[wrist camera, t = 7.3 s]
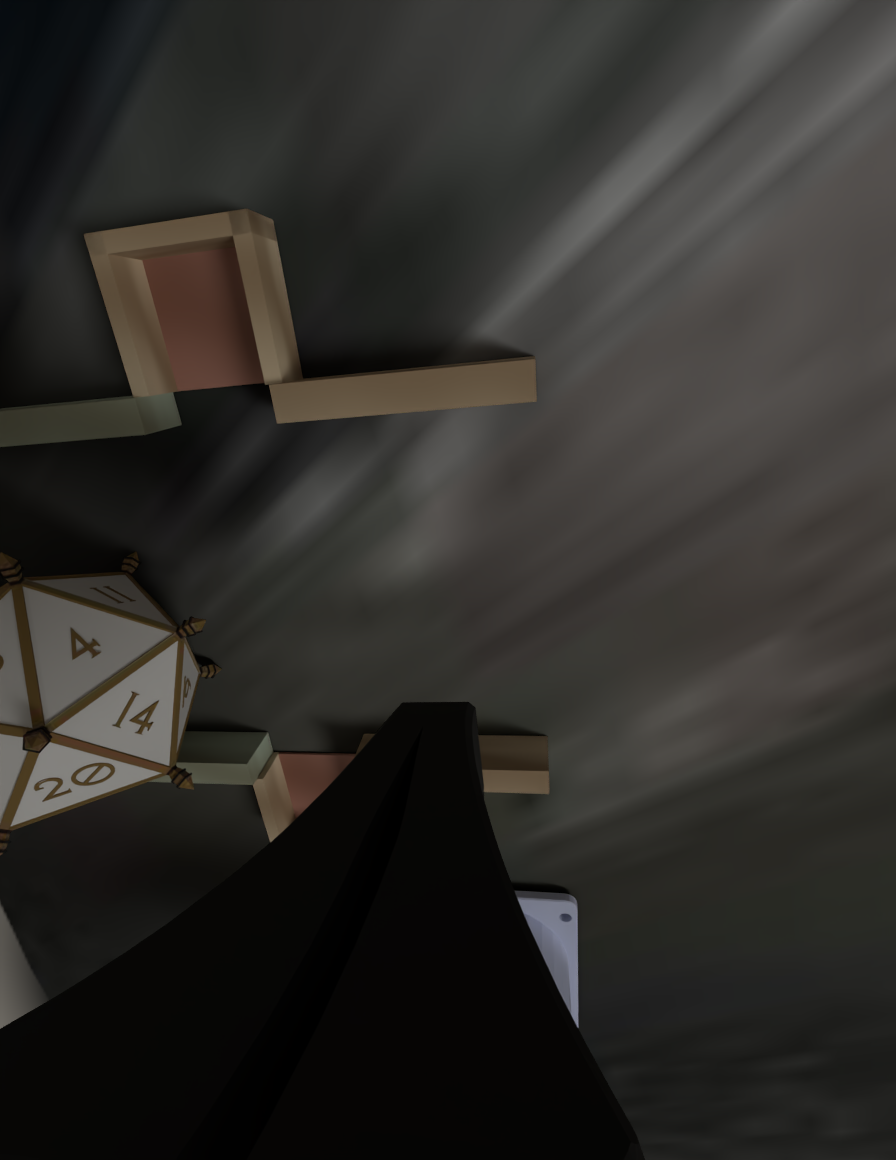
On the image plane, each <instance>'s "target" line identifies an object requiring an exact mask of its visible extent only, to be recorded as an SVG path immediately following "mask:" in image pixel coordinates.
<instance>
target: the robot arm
mask: <svg viewBox="0 0 896 1160" xmlns="http://www.w3.org/2000/svg"><path fill="white" fill-rule="evenodd" d="M0 1160H645V1158H644V1155H643V1153H642V1150H641V1147H640V1144H639V1141H638V1138H637V1136H636V1134H635V1132H634V1130H633V1128H632V1126H631V1124H630V1122H629V1120H628V1119H627V1117H626V1115H625V1113H624V1112H623V1110H622V1108H621V1106H620V1105H619V1103H618V1101H617V1099H616V1098H615V1096H614V1094H613V1092H612V1090H611V1089H610V1087H609V1085H608V1083H607V1081H606V1080H605V1078H604V1076H603V1074H602V1072H601V1070H600V1069H599V1067H598V1065H597V1063H596V1061H595V1059H594V1057H593V1056H592V1054H591V1052H590V1050H589V1048H588V1046H587V1045H586V1043H585V1041H584V1039H583V1037H582V1035H581V1033H580V1031H579V1029H578V916H577V901H576V899H575V898H574V897H573V896H571V895H569V894H565V893H549V892H532V891H515V890H514V889H513V886H512V883H511V881H510V878H509V875H508V873H507V870H506V867H505V865H504V862H503V859H502V856H501V854H500V851H499V848H498V845H497V842H496V839H495V836H494V832H493V829H492V826H491V822H490V819H489V816H488V812H487V809H486V805H485V801H484V781H483V772H482V763H481V754H480V745H479V736H478V727H477V718H476V709H475V707H474V706H473V705H472V704H470V703H469V702H410V703H402V704H401V705H400V706H399V707H398V708H397V709H396V710H395V711H394V712H393V713H392V715H391V716H390V717H389V718H388V719H387V720H386V722H385V723H384V724H383V725H382V726H381V728H380V729H379V730H378V731H377V732H376V733H375V735H374V736H373V737H372V738H371V739H370V740H369V742H368V743H367V744H366V745H365V746H364V747H363V748H362V750H361V751H360V752H359V753H358V754H357V755H356V756H355V757H354V759H353V760H352V761H351V762H350V763H349V764H348V765H347V766H346V767H345V768H344V770H343V771H342V772H341V773H340V774H339V775H338V776H337V777H336V778H335V779H334V781H333V782H332V783H331V784H330V785H329V786H328V787H327V788H326V789H325V790H324V791H323V792H322V793H321V794H320V795H319V796H318V797H317V798H316V799H315V800H314V801H313V802H312V803H311V804H310V805H309V806H308V807H307V808H306V809H305V810H304V811H303V812H302V813H301V814H300V815H299V816H298V817H297V818H296V819H295V820H294V821H293V822H292V823H291V824H290V825H289V826H288V827H287V828H286V829H285V830H284V831H282V832H281V833H280V834H279V835H278V836H277V837H276V838H275V839H274V840H273V841H272V842H270V843H269V844H268V845H267V846H266V847H265V848H264V849H262V850H261V851H260V852H259V853H258V854H256V855H255V856H254V857H253V858H252V859H251V860H249V861H248V862H247V863H246V864H245V865H243V866H242V867H241V868H240V869H239V870H237V871H236V872H235V873H234V874H233V875H231V876H230V877H229V878H228V879H226V880H225V881H224V882H222V883H221V884H220V885H218V886H217V887H216V888H214V889H213V890H212V891H210V892H209V893H208V894H206V895H205V896H204V897H202V898H201V899H200V900H198V901H197V902H196V903H194V904H193V905H192V906H190V907H189V908H188V909H186V910H185V911H184V912H182V913H181V914H180V915H178V916H177V917H176V918H174V919H173V920H172V921H170V922H169V923H168V924H166V925H165V926H163V927H162V928H161V929H159V930H158V931H156V932H155V933H153V934H152V935H150V936H149V937H147V938H146V939H144V940H143V941H142V942H140V943H139V944H137V945H136V946H134V947H133V948H131V949H130V950H128V951H127V952H125V953H124V954H122V955H121V956H119V957H118V958H116V959H115V960H113V961H111V962H110V963H108V964H107V965H105V966H104V967H102V968H101V969H99V970H98V971H96V972H94V973H93V974H91V975H90V976H88V977H87V978H85V979H84V980H82V981H80V982H79V983H77V984H75V985H74V986H72V987H71V988H69V989H67V990H66V991H64V992H63V993H61V994H59V995H58V996H56V997H54V998H53V999H51V1000H49V1001H47V1002H46V1003H44V1004H42V1005H41V1006H39V1007H37V1008H35V1009H34V1010H32V1011H30V1012H28V1013H27V1014H25V1015H23V1016H22V1017H20V1018H18V1019H16V1020H15V1021H13V1022H11V1023H10V1024H8V1025H6V1026H4V1027H3V1028H1V1029H0Z"/></svg>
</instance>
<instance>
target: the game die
mask: <svg viewBox="0 0 896 1160" xmlns="http://www.w3.org/2000/svg"><path fill="white" fill-rule="evenodd" d="M123 559H124V561H123V563H121V566H122V570H121V571H120V572H108V573H91V574H75V575H58V576H41V577H24V578H23V577H22V571H23V570H24V568H23V567H21V566H20V562H21V560H16V559H13V558H12V557H10V556H8V555H6V554H4V553H2V552H1V553H0V575H1V576H2V578H3V579H6V580H7V581H8V583H6V584H5V585H3V586H2V587H0V855H2V854H3V853H6V852H7V851H6V850H5V849H6V847H7V844H8V843H10V842H11V841H9V835H10V833H11V831H12V830H15V829H17V828H20V827H23V826H26V825H29V824H31V823H34V822H37V821H40V820H43V819H45V818H48V817H51V816H54V815H57V814H59V813H62V812H65V811H68V810H71V809H73V808H76V807H79V806H82V805H85V804H87V803H90V802H93V801H96V800H99V799H101V798H104V797H107V796H110V795H112V794H115V793H118V792H121V791H124V790H126V789H129V788H132V787H135V786H138V785H140V784H143V783H146V782H149V781H152V780H154V779H157V778H160V777H163V776H166V775H168V776H170V778H171V780H172V781H171V782H172V783H173V784H174V783H175V784H176V785H177V788H179V789H180V788H187V789H194V786H193V781H192V777H191V775H192V773H190V774H189V773H188V772H187V771H186V768H184V769H181V768H178V767H177V766H176V763H177V759H178V755H179V752H180V748H181V744H182V741H183V737H184V733H185V730H186V726H187V722H188V719H189V715H190V711H191V707H192V704H193V700H194V696H195V693H196V689H197V685H198V682H199V678H200V676H201V677H205V678H206V679H207V678H208V677H211V678H214V676H215V675H216V674H217V673H218V672H219V671H220V670H221V668H219V667H218V666H216V665H215V664H214V663H213V664H207V665H202V667H200V668H199V665H198V663H197V661H196V659H195V656H194V654H193V652H192V650H191V647H190V645H189V643H188V641H187V638H186V636H188V637H189V636H193V635H196V633H200V632H203V631H202V628H203V626H204V624H205V622H206V620H204V619H197V618H194V617H192V616H191V617H190V618H189V620H187V621H186V620H184V621H183V624H182V625H181V626H180V627H179V625H178V624H177V623H176V622H175V621H174V620H173V619H172V618H171V617H170V616H169V615H168V614H167V613H166V612H165V611H164V610H163V609H162V608H161V607H160V606H159V604H158V603H157V602H156V601H155V600H154V599H153V598H152V597H151V596H150V595H149V594H148V593H147V592H146V591H145V590H144V589H143V588H142V587H141V586H140V585H139V583H138V582H137V581H136V580H135V579H134V578H133V577H132V573H133V572H134V571H136V570H137V569H138V568H137V566H138V565H139V564H141V562H139V559H138V555H137V552H134V553H132V554H130V555H128V556H127V557H123Z"/></svg>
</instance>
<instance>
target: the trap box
mask: <svg viewBox="0 0 896 1160" xmlns="http://www.w3.org/2000/svg"><path fill="white" fill-rule="evenodd" d="M84 238H85V241H86V244H87V247H88V251H89V254H90V257H91V260H92V264H93V267H94V270H95V273H96V277H97V280H98V283H99V286H100V290H101V293H102V296H103V299H104V303H105V306H106V309H107V312H108V316H109V319H110V322H111V325H112V329H113V332H114V335H115V338H116V342H117V345H118V348H119V351H120V355H121V358H122V361H123V364H124V368H125V371H126V374H127V377H128V381H129V384H130V387H131V391H132V394H133V396H124V397H114V398H104V399H93V400H83V401H73V402H63V403H53V404H43V405H33V406H22V407H12V408H2V409H0V447H7V446H19V445H31V444H42V443H54V442H66V441H78V440H89V439H101V438H113V437H125V436H136V435H147V434H150V433H154V432H158V431H162V430H165V429H169V428H173V427H176V426H180V425H182V423H181V420H180V416H179V412H178V409H177V405H176V402H175V398H174V394H173V392H177V391H186V390H196V389H206V388H217V387H227V386H237V385H247V384H257V383H265V385H269V384H271V385H269V388H270V392H271V397H272V402H273V406H274V411H275V416H276V420H277V423H289V422H301V421H313V420H324V419H336V418H348V417H360V416H371V415H383V414H395V413H407V412H418V411H430V410H442V409H454V408H465V407H477V406H489V405H501V404H512V403H524V402H536V401H537V397H536V366H535V356H530V357H519V358H509V359H499V360H489V361H479V362H469V363H459V364H448V365H438V366H428V367H418V368H408V369H398V370H388V371H377V372H367V373H357V374H347V375H337V376H327V377H317V378H306V379H303V376H302V370H301V365H300V360H299V354H298V349H297V344H296V339H295V333H294V328H293V323H292V317H291V312H290V307H289V302H288V296H287V291H286V286H285V280H284V275H283V270H282V265H281V259H280V254H279V249H278V243H277V238H276V233H275V228H274V222H273V220H272V219H270V218H267V217H265V216H263V215H260V214H258V213H256V212H253V211H251V210H249V209H241V210H235V211H229V212H222V213H216V214H209V215H203V216H196V217H190V218H183V219H177V220H171V221H164V222H158V223H151V224H145V225H138V226H132V227H125V228H119V229H113V230H106V231H100V232H93V233H87V234H84ZM374 735H375V734H364V735H363V737H362V740H361V742H360V745H359V747H358V749H357V752H356V754H341V753H290V752H273V749H272V745H271V741H270V738H269V734H268V732H202V731H185V733H184V737H183V741H182V744H181V748H180V752H179V755H178V759H177V763H176V766H177V767H178V768H181V769H184V768H186V771H187V772H188V773H189V774H190V773H192V775H191V777H192V781H193V783H208V784H241V785H253V787H254V791H255V794H256V797H257V800H258V804H259V807H260V810H261V813H262V817H263V820H264V823H265V826H266V830H267V833H268V836H269V839H270V842H272V841H273V840H274V839H275V838H276V837H277V836H278V835H279V834H280V833H281V832H282V831H284V830H285V829H286V828H287V827H288V826H289V825H290V824H291V823H292V822H293V821H294V820H295V819H296V818H297V817H298V816H299V815H300V814H301V813H302V812H303V811H304V810H305V809H306V808H307V807H308V806H309V805H310V804H311V803H312V802H313V801H314V800H315V799H316V798H317V797H318V796H319V795H320V794H321V793H322V792H323V791H324V790H325V789H326V788H327V787H328V786H329V785H330V784H331V783H332V782H333V781H334V779H335V778H336V777H337V776H338V775H339V774H340V773H341V772H342V771H343V770H344V768H345V767H346V766H347V765H348V764H349V763H350V762H351V761H352V760H353V759H354V757H355V756H356V755H357V754H358V753H359V752H360V751H361V750H362V748H363V747H364V746H365V745H366V744H367V743H368V742H369V740H370V739H371V738H372V737H373V736H374ZM478 736H479V745H480V754H481V763H482V772H483V781H484V792H504V793H537V794H549V768H548V740H547V736H499V735H478ZM171 781H172V780H171V778H170V776H168V775H166V776H163V777H160V778H157V779H154V780H152V781H149V782H171Z"/></svg>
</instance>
